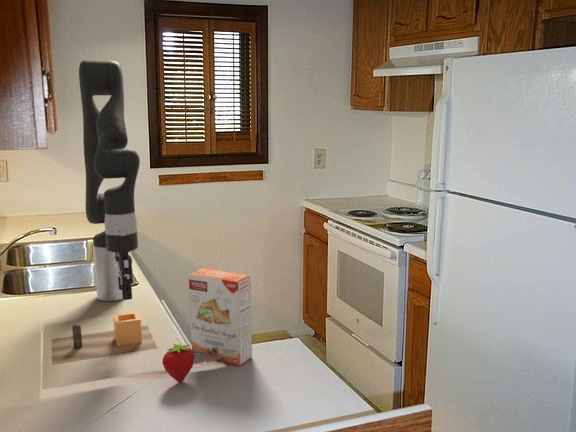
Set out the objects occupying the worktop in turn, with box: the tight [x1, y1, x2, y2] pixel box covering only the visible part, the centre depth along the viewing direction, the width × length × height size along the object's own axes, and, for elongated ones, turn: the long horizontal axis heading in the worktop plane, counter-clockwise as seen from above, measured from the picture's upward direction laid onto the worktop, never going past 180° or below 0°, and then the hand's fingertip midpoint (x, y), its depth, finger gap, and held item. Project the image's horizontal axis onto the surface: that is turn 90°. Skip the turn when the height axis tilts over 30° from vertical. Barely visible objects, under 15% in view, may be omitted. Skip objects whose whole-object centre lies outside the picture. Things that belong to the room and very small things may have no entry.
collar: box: [112, 311, 142, 346], centre depth 150 cm, size 6×6×6 cm
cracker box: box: [188, 267, 253, 367], centre depth 141 cm, size 14×6×21 cm, turn 62°
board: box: [51, 323, 158, 365], centre depth 148 cm, size 16×24×8 cm, turn 112°
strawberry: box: [162, 339, 196, 383], centre depth 130 cm, size 6×8×10 cm
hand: (125, 294), depth 148 cm, fingers open, 8 cm apart
